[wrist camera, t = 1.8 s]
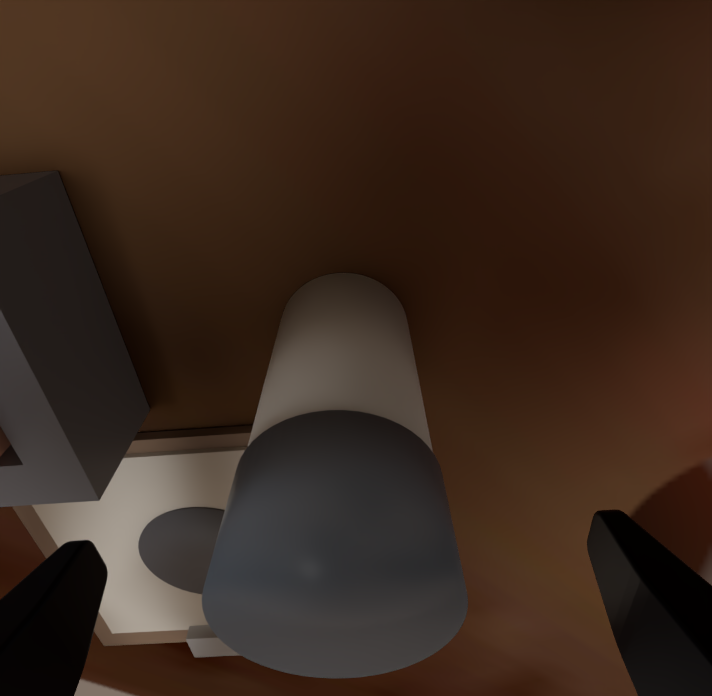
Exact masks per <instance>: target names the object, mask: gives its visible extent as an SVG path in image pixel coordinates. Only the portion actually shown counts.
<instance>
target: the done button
mask: <svg viewBox="0 0 712 696" xmlns="http://www.w3.org/2000/svg"><path fill="white" fill-rule="evenodd" d="M10 445H11V443H10V442H9V440H8V438H7V437H6V435H5V434H4V432H3V430H2V429H1V427H0V456H1V455H2V454H3V453H4V452H5V451H6V449H7V448H8V447H9V446H10Z"/></svg>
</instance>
